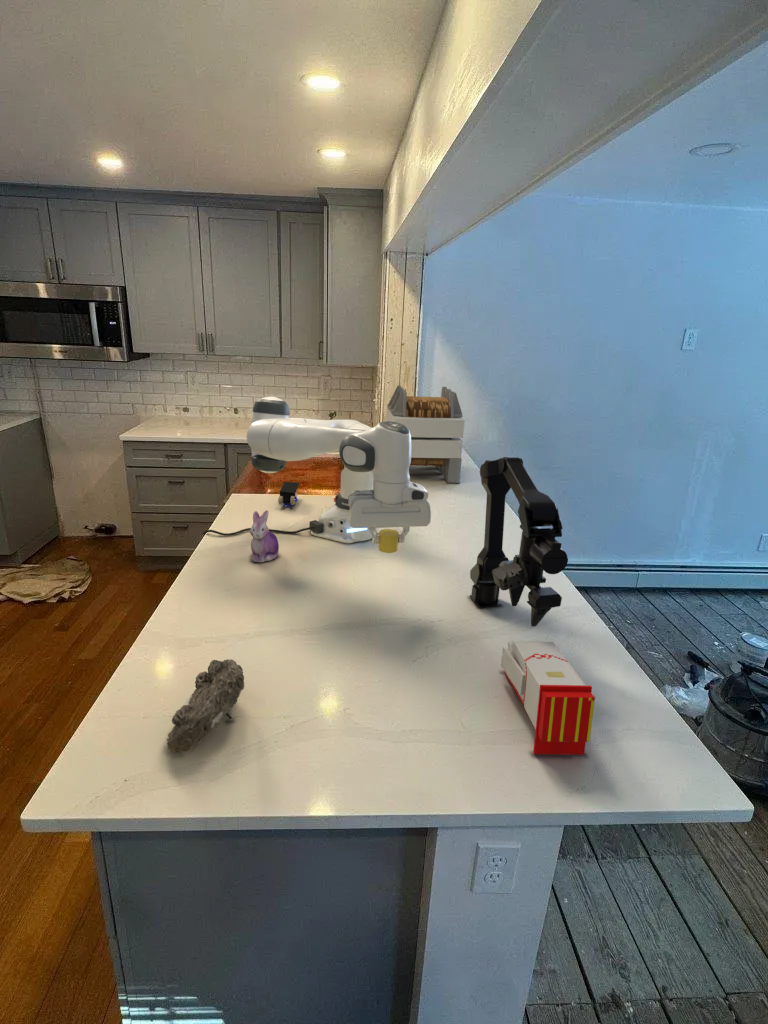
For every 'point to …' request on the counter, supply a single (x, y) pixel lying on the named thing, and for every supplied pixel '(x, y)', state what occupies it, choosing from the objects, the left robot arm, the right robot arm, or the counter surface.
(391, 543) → the yellow cylinder
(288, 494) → the black toy vehicle
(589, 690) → the toy
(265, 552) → the figurine
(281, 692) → the counter surface
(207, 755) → the counter surface
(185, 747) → the fossil
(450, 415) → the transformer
